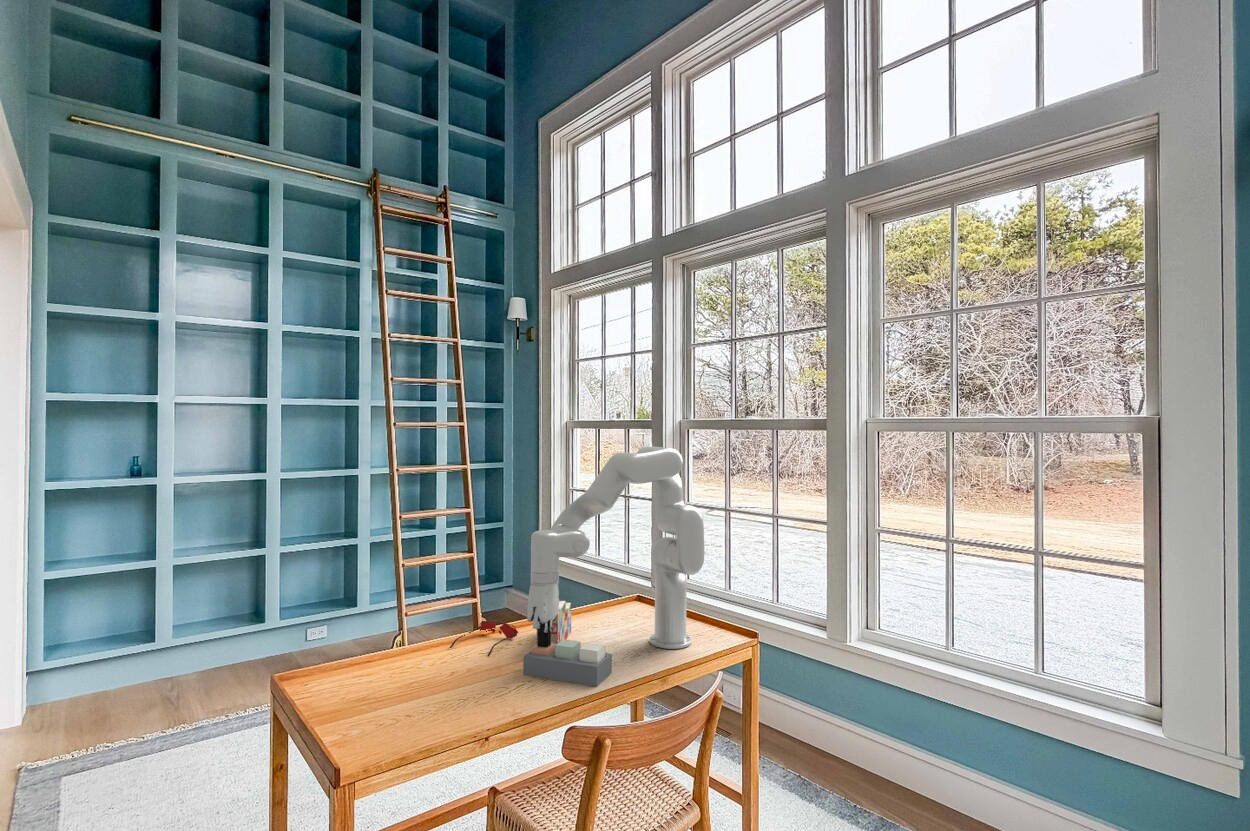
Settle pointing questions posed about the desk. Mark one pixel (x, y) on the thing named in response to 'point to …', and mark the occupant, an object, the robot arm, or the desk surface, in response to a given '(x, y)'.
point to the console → (567, 669)
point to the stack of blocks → (561, 623)
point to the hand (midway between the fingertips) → (544, 645)
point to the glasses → (505, 628)
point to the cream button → (592, 653)
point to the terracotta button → (543, 650)
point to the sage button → (567, 649)
